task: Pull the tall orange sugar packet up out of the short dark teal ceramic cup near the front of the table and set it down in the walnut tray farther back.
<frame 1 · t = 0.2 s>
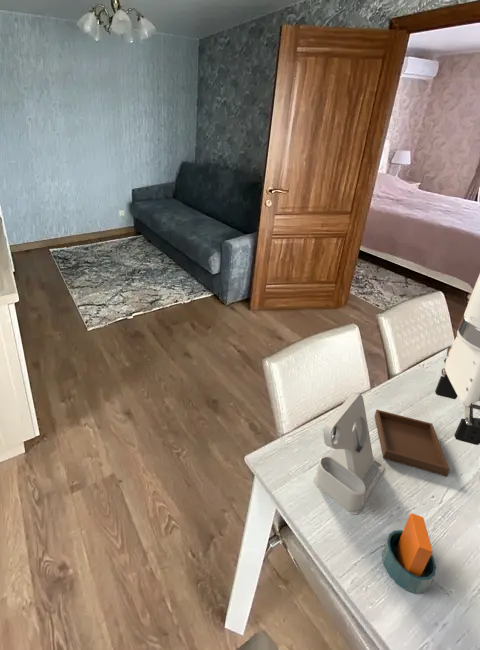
hand: (454, 416, 59), 31 cm above the table, tool pointing down, fingers open, 9 cm apart
packet: (404, 567, 64), point 1 cm above the table, touching cup
cup: (403, 569, 64), on the table
phone holder: (348, 475, 81), on the table
tray: (407, 443, 88), on the table
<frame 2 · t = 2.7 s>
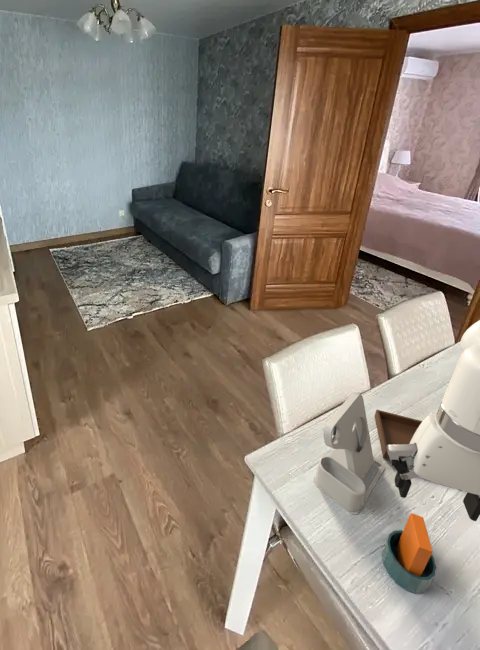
hand: (433, 500, 57), 20 cm above the table, tool pointing down, fingers open, 9 cm apart
nothing on the table moved.
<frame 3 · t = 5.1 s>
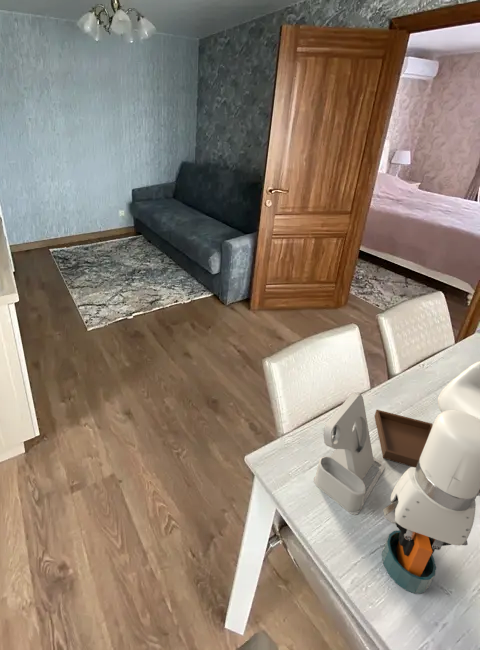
hand: (413, 549, 62), 6 cm above the table, tool pointing down, fingers closed on packet, 2 cm apart
packet: (404, 567, 64), point 1 cm above the table, touching gripper
everything else where it was.
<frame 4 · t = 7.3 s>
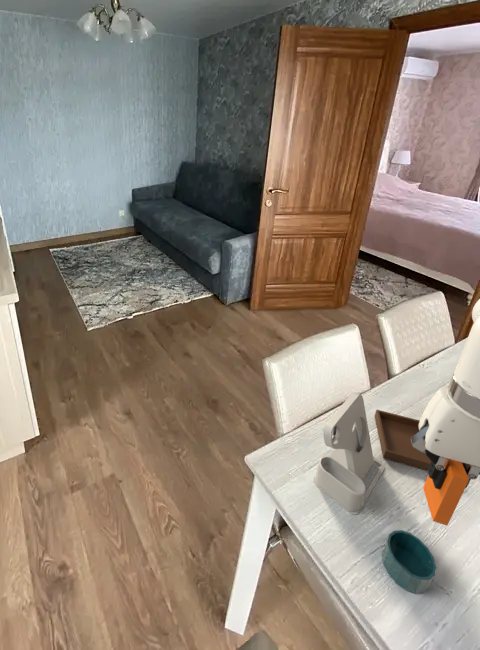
hand: (444, 482, 55), 24 cm above the table, tool pointing down, fingers closed on packet
packet: (434, 505, 57), point 18 cm above the table, touching gripper
everything else where it was.
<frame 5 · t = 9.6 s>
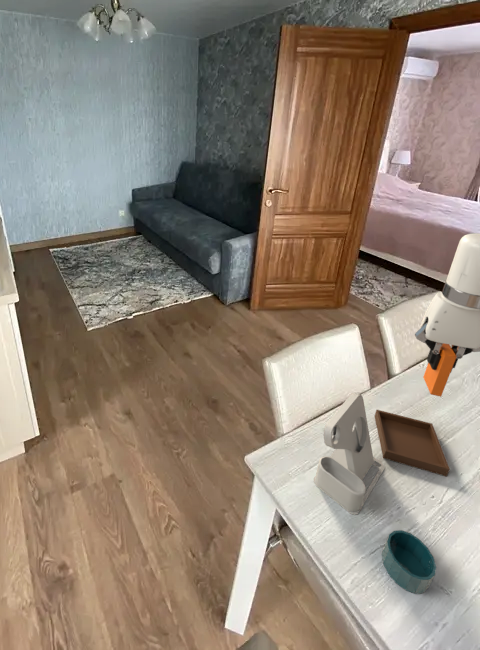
hand: (439, 366, 76), 27 cm above the table, tool pointing down, fingers closed on packet
packet: (431, 386, 78), point 21 cm above the table, touching gripper
everything else where it was.
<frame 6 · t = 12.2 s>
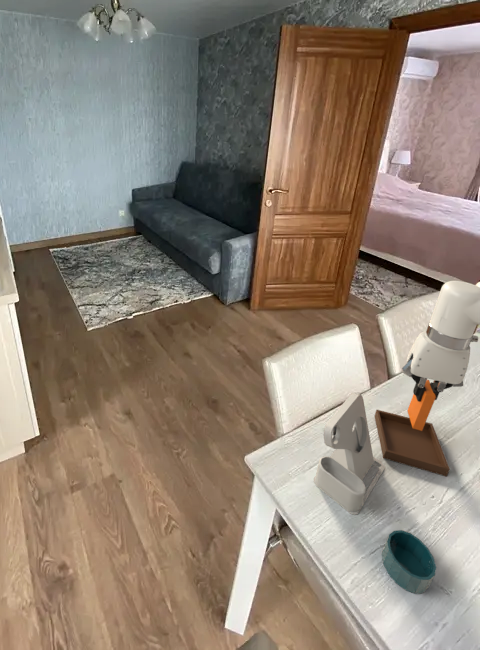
hand: (423, 398, 82), 15 cm above the table, tool pointing down, fingers closed on packet
packet: (414, 420, 86), point 8 cm above the table, touching gripper
everything else where it was.
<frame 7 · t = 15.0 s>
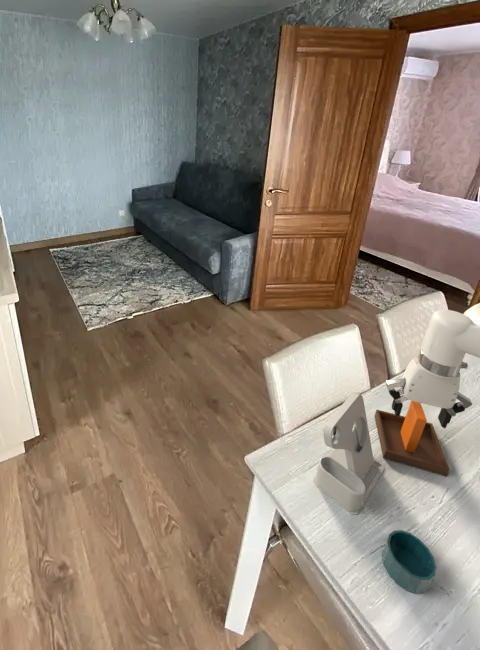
hand: (418, 417, 85), 9 cm above the table, tool pointing down, fingers open, 9 cm apart
packet: (407, 442, 88), resting on tray
everything else where it was.
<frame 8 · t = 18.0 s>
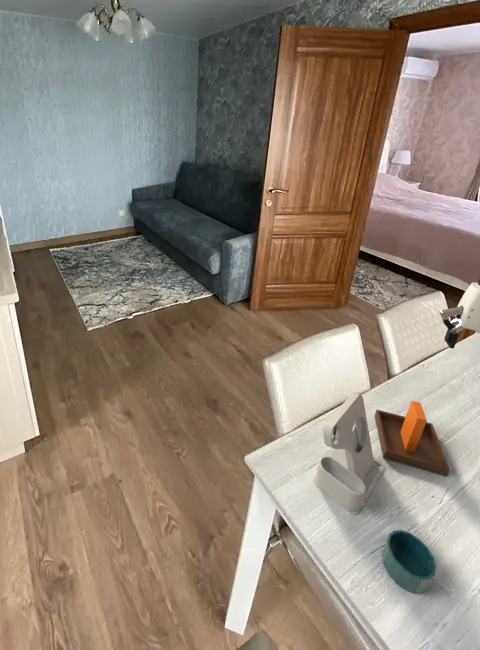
hand: (474, 349, 79), 28 cm above the table, tool pointing down, fingers open, 9 cm apart
nothing on the table moved.
at the end: packet inside the target area on the tray (0.2 cm from its centre), point 0.5 cm above the tray's base; the gripper is holding nothing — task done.
